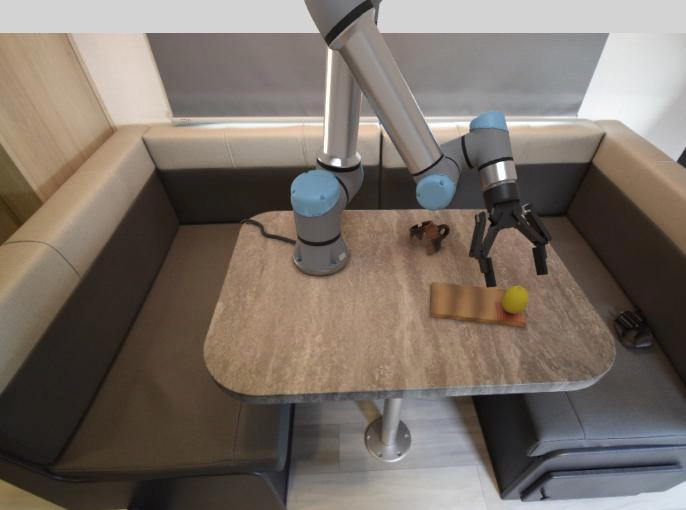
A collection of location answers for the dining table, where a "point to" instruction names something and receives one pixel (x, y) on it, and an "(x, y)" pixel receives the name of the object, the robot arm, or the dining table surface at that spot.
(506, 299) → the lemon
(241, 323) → the dining table surface
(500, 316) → the board
